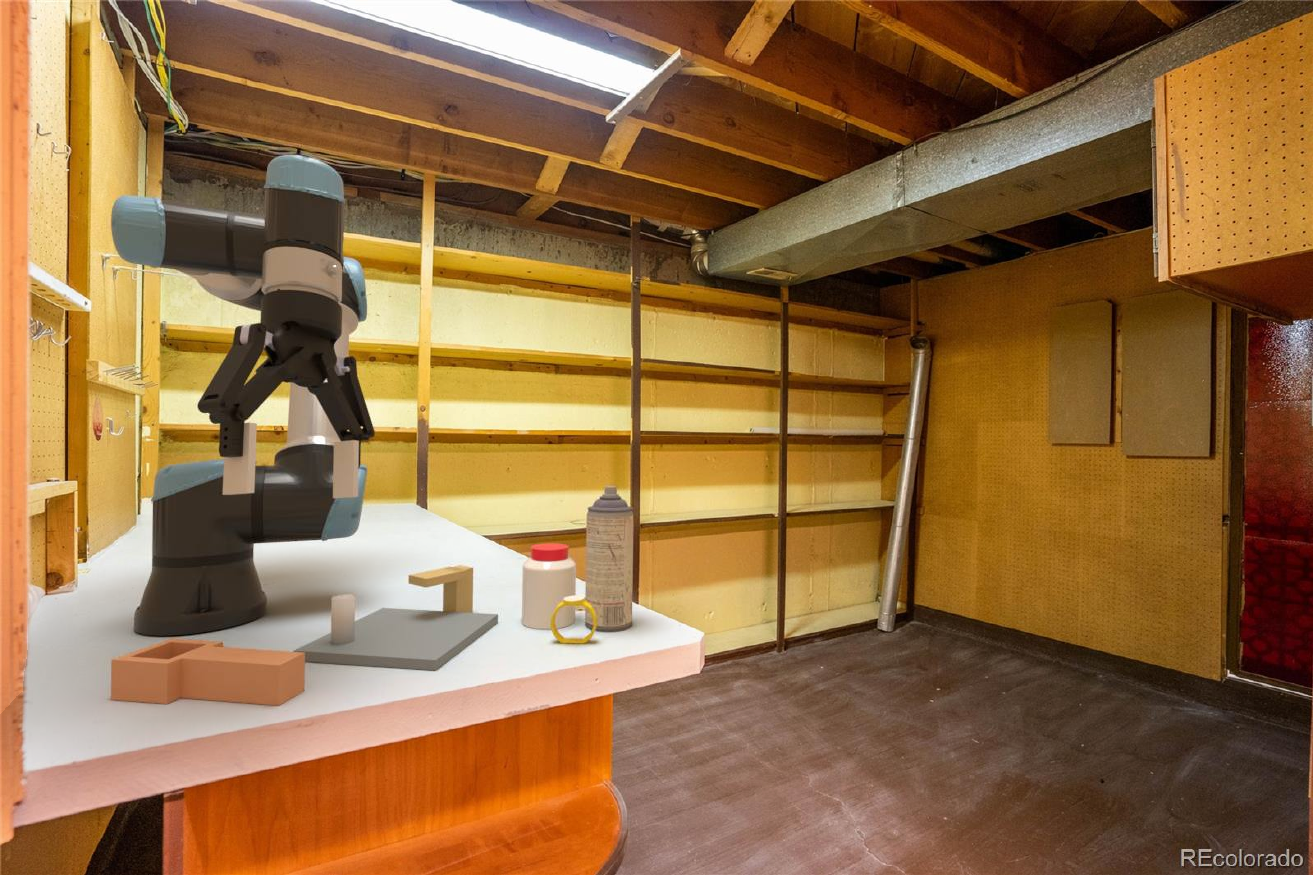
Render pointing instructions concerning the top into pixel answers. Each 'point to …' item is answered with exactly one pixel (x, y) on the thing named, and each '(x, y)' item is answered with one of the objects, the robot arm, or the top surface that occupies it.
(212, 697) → the link
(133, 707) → the top surface
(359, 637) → the board
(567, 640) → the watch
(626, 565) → the aerosol can
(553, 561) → the pill bottle
